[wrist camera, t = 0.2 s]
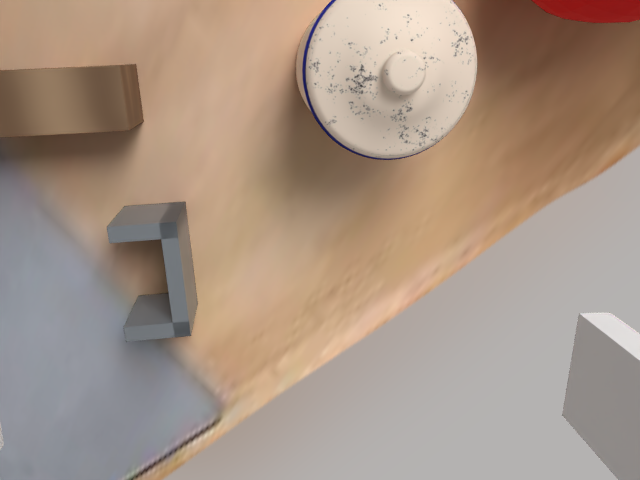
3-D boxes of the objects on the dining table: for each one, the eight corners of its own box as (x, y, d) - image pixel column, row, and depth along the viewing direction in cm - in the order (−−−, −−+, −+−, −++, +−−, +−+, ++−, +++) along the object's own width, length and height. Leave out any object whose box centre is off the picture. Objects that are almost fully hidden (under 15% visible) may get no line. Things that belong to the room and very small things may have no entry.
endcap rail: (-69, 327, 40) (-112, 364, 35) (-98, 222, 37) (-149, 246, 33) (197, 303, 41) (190, 335, 36) (185, 201, 39) (176, 221, 34)
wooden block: (-86, 133, 36) (-137, 145, 31) (-101, 74, 35) (-156, 78, 30) (144, 120, 37) (128, 130, 33) (136, 64, 36) (119, 65, 31)
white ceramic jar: (384, 162, 40) (435, 202, 29) (266, 96, 37) (273, 113, 26) (479, -2, 37) (575, -26, 26) (359, -83, 35) (408, -147, 24)
